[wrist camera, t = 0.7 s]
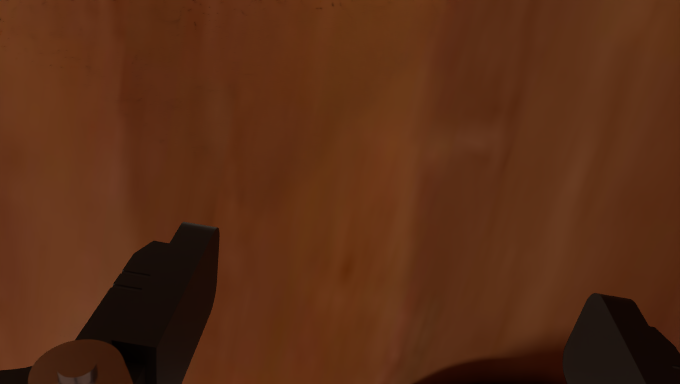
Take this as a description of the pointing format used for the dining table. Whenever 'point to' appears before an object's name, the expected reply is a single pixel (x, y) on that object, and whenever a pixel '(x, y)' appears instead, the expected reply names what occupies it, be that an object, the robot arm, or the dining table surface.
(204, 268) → the robot arm
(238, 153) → the dining table surface
